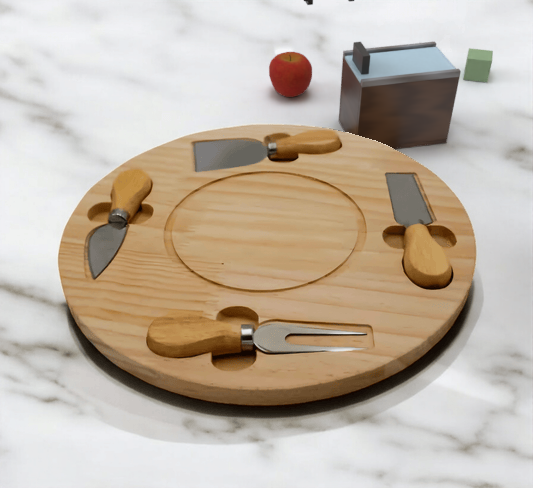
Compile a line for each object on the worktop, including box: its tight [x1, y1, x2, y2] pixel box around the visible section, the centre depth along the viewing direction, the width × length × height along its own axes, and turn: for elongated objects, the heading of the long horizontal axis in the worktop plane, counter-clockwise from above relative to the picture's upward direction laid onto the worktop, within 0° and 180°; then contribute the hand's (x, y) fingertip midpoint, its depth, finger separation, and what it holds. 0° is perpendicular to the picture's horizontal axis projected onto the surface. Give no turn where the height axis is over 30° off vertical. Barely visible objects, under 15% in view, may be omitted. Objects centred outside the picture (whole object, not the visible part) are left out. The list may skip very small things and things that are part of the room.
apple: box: [268, 51, 313, 98], centre depth 119 cm, size 8×8×8 cm
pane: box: [345, 41, 457, 83], centre depth 102 cm, size 16×8×4 cm, turn 101°
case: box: [338, 41, 462, 150], centre depth 107 cm, size 16×11×13 cm
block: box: [463, 47, 494, 83], centre depth 124 cm, size 4×4×4 cm
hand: (329, 0), depth 94 cm, fingers open, 5 cm apart
